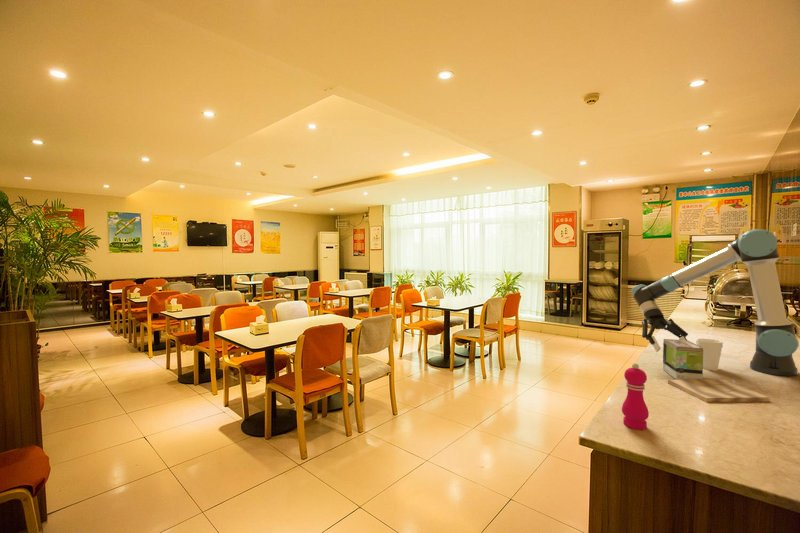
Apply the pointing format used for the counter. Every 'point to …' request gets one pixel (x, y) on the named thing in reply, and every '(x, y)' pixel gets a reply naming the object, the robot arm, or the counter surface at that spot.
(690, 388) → the oak board
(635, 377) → the pepper mill
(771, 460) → the counter surface
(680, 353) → the tea box
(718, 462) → the counter surface
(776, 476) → the counter surface
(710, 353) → the foam cup
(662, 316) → the robot arm
